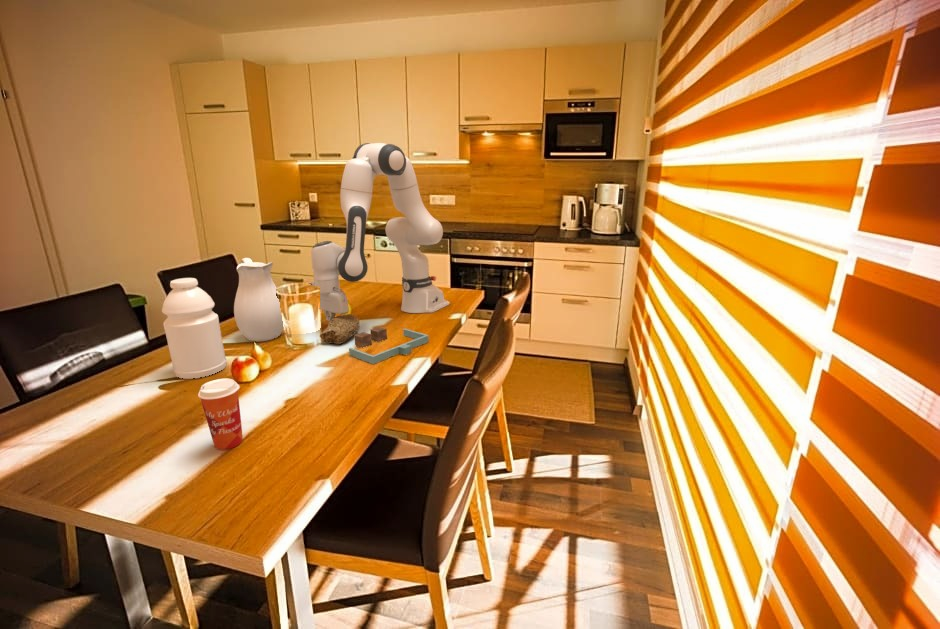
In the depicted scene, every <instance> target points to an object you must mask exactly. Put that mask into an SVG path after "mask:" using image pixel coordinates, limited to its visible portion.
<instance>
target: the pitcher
mask: <svg viewBox="0 0 940 629" xmlns="http://www.w3.org/2000/svg"><path fill="white" fill-rule="evenodd" d="M273 263H274V262H273V261H271V262H270V261H269V262H268V263H264V262H261V261H259V262H257V261H254V262H253V260H252V259H251V258H250V257H243V258H242V259H241V261H240V263H239V264H238V265H237V266H236V272H237V273H238V284H237V285H238V287H237V289H236V293H235V298H234V303H233V314H234V316H233V317H234V320H235V324H236V326H237V328H238V330H239V331H240V333H241V334H242V335H243V336H244V337H245V338H246V339H247V340H248V341H250V342H255V341H256V342H258V343H259V342H267V341H272V340H275V339H277V338H279V337H281V336H280V335H281V334H282V332H283V331H284V328H283V321H282V315H281V308H280V302H279V299H278V298H277V296H276V289H278V287H277V286H276V284H275V282H274V280H273V278H272V275H271V274H272V273H271V271H272V267H273V265H274V264H273ZM278 336H279V337H278ZM274 338H275V339H274ZM256 342H255V343H256Z"/></svg>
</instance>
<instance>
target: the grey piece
mask: <svg viewBox="0 0 940 629" xmlns="http://www.w3.org/2000/svg"><path fill="white" fill-rule="evenodd" d="M402 330H403V331H402V332H403V334H402V335H403V337H406V336H407V337H406V338H410V337H411V338H410V339H412V340H410V341H408V342H405V343H402V344H400V345H397V346H394V347H392V348H389V349H386V350H384V351H381V352H379V353H376V354H373V355H372V354H371V353H368V352H366V351H365V352H364V351H361V350H358V349H356V348H354V347H349V348H348V353H349V354H348V355H349V357H352V356H353V357H352V358H355V357H356V358H355V359H358V360H360V359H361V360H360V361H363V362H365V363H368V362H369V363H368V364H371V365H376V364H378V363H381V362H383V361H386V360H388V359H390V358H389V357H391V356H393V357H395V356H394V355H396V354H398V355H401V354H403V355H402V356H404V355H406V354H408V355H410V354H412V350H413V349H415V348H418V347H421V346H423V345H424V344H427V343H429V342H430V341H429V339H430V338H429V336H430V335H428V334H425V333H421V332H417V331H414V330H412V329H408V328H403V329H402ZM413 338H414V339H413ZM422 344H423V345H422ZM417 346H418V347H417ZM414 347H415V348H414ZM412 348H413V349H412ZM399 353H400V354H399ZM409 353H410V354H409ZM396 356H397V355H396ZM406 356H407V355H406ZM387 358H388V359H387ZM391 358H392V357H391ZM385 359H386V360H385ZM382 360H383V361H382ZM380 361H381V362H380ZM377 362H378V363H377ZM375 363H376V364H375Z"/></svg>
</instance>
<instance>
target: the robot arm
mask: <svg viewBox="0 0 940 629" xmlns="http://www.w3.org/2000/svg"><path fill="white" fill-rule="evenodd" d="M382 175H383V176H386V178H387V181H388V187H389V190H390V195H391V198H392V199H391V200H392V203H393V207H394V208H395V210H397V211H398V212H400V213H402V214H403V215H404V216H398V217H394V218H393V217H392V218H390V219H389V220H388V221H387V223H386V225H385V229H384V230H385V234H386V237H387V239H388V241H390V242H391V243H392V244H394V247H395V248H396V250H397V251H398V254H399V257H400V259H401V260H400V261H401V268H402V277H401V285H402V298H401V300H402V301H401V307H400V310H401V311H402V312H405V313H411V314H421V313H435V312H437V311H438V310H441V309H443V308H445V307H447V306H449V305H450V301H448V300H446V299H445V296H444V292H443V291H442V289H440V288H439V287H437V286H436V285H434V284H433V282H435V281H437V276H435V275H430V272H429V271H430V270H429V269H430V268H429V266H430V264H429V259H428V257H427V255H426V254H424V253H423V252H422V251H421V250H420V248H419V246H431V245H435V244H438V243H440V241H441V240H442V238H443V235H444V229H443V228H444V227H443V225H442V224H441V222H440V221H439V220H438V219H436V218H434V216H433V215H431V213H430V212H429V211H428V209H427V208H426V207H425V205H424V202H423V200H422V196H421V193H420V189H419V184H418V179H417V176H416V172H415V170H414V167H413V164H412V161H411V160H410V158H409V157H408V156H406V155H405V153H404V152H403V150H402V148H400V147H399V146H397V145H395V144H393V143H383V142H375V143H374V142H373V143H370V142H369V143H367V142H366V143H363V144H360V145H358V146H357V147H356V148H355V151H354V153H353V156H352V158H351V159H348V160H347V162H346V164H345V166H344V170H343V172H342V178H341V183H340V196H339V197H340V200H339V201H340V206H341V210H342V213H343V215H344V216H343V217H344V218H345V223H346V234H345V235H346V236H345V237H346V238H345V247H343V246H341V245H340V244H337V243H334V242H333V241H332V240H326V241H321V242H317V243H316V244H314V245H313V246H312V248H311V268H312V270H313V281H311V282H307V284H311V285H312V286H315V287H316V286H319V287H320V308H319V309H320V310H323V314H324V315H325V320H326V322H328V323H330V321H331V320H332V319H333V318H334V317H336V315H339V316H340V315H347V314H348V313H349V312H350V306H349V302H348V297H347V295H346V293H345V292H344V290H343V289H341V287H340V279H339V278H340V277H341V278H342V279H343V280H345V281H347V282H352V283H355V282H359V281H361V280H362V279H364V278H365V276H366V275H367V273H368V268H369V267H368V262H367V259H366V256H365V241H366V240H365V238H366V226H367V222H368V218H369V213H370V208H371V204H372V198H373V191H374V188H373V187H374V180H375V178H376V177H377V176H382ZM418 245H419V246H418ZM339 276H340V277H339ZM432 281H433V282H432Z"/></svg>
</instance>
